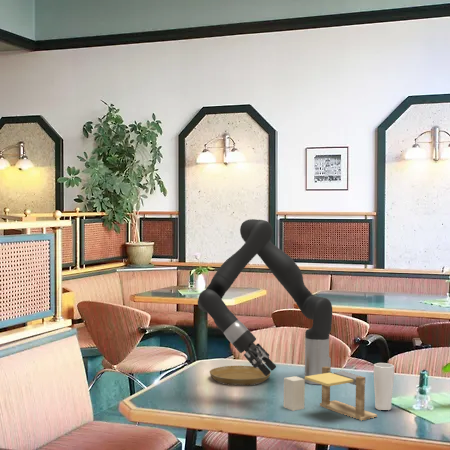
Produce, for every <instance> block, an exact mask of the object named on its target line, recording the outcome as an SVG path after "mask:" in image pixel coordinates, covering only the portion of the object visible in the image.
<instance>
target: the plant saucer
mask: <svg viewBox="0 0 450 450" xmlns="http://www.w3.org/2000/svg"><path fill="white" fill-rule="evenodd" d="M271 372H272V371H270V374H269V375H267V376H265V375H264V374H263V373H262V372H261V370H260V369H259V368H254V367H253V365H225V366H219V367H214V368H212V369H210V370H209V375H210V376H211V378H212V379H213V380H215V381H216V382H217V383H219V384H223V383H224V384H223V385H228V384H229V385H228V386H254V384H255V385H259V384H261V383H264V382H265V381H266V380H268V379H269V377H270V376H271V374H272V373H271Z"/></svg>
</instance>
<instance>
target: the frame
mask: <svg viewBox="0 0 450 450" xmlns="http://www.w3.org/2000/svg"><path fill="white" fill-rule="evenodd" d="M323 373H332V371H331V372H330V367H327V366H326V367H322V374H323ZM355 382H356V385H355V405H354V406H353V405H350V404H347V403H344V402H343V401H342V402H341V401H338V400H337V399H335V400H331V386H325V385H322V384H321V402H319V407H321V408H324V409H327V410H329V411H333V412H336V413H338V414H341V415H343V414H344V416H346V415H347V417H349V416H350V417H349V418H352V417H353V418H352V419H354V418H356V419H355V420H357V419H359V420H358V421H360V420H361V421H360V422H363V421H362V420H364V421H367V420H366V419H369V420H371V419H370V418H373V419H375V418H374V417H377V418H378V414H376V413H374V412H371V411H368V410H365V404H366V402H365V400H366V399H365V398H366V396H365V391H366V377H365V376H362V375H359V377H356V379H355Z"/></svg>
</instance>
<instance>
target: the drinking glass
mask: <svg viewBox="0 0 450 450" xmlns="http://www.w3.org/2000/svg"><path fill="white" fill-rule="evenodd" d="M394 380H395V365H394V364H391V363H388V362H387V363H386V362H377V363H374V364H373V386H374V387H373V389H374V390H373V391H374V407H375V409H376V410H378V411H381V410H388V411H390V410H392V403H393V402H392V401H393V390H394V382H395V381H394Z"/></svg>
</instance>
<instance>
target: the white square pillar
mask: <svg viewBox="0 0 450 450" xmlns="http://www.w3.org/2000/svg"><path fill="white" fill-rule="evenodd" d="M305 388H306V382H305V378H302V377H299V376H297V375H295V376H289V377H288V376H287V377H284V378H283V408H285V409H287V410H289V411H292V412H294V411H299V410H304V409H305V392H306V391H305Z"/></svg>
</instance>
